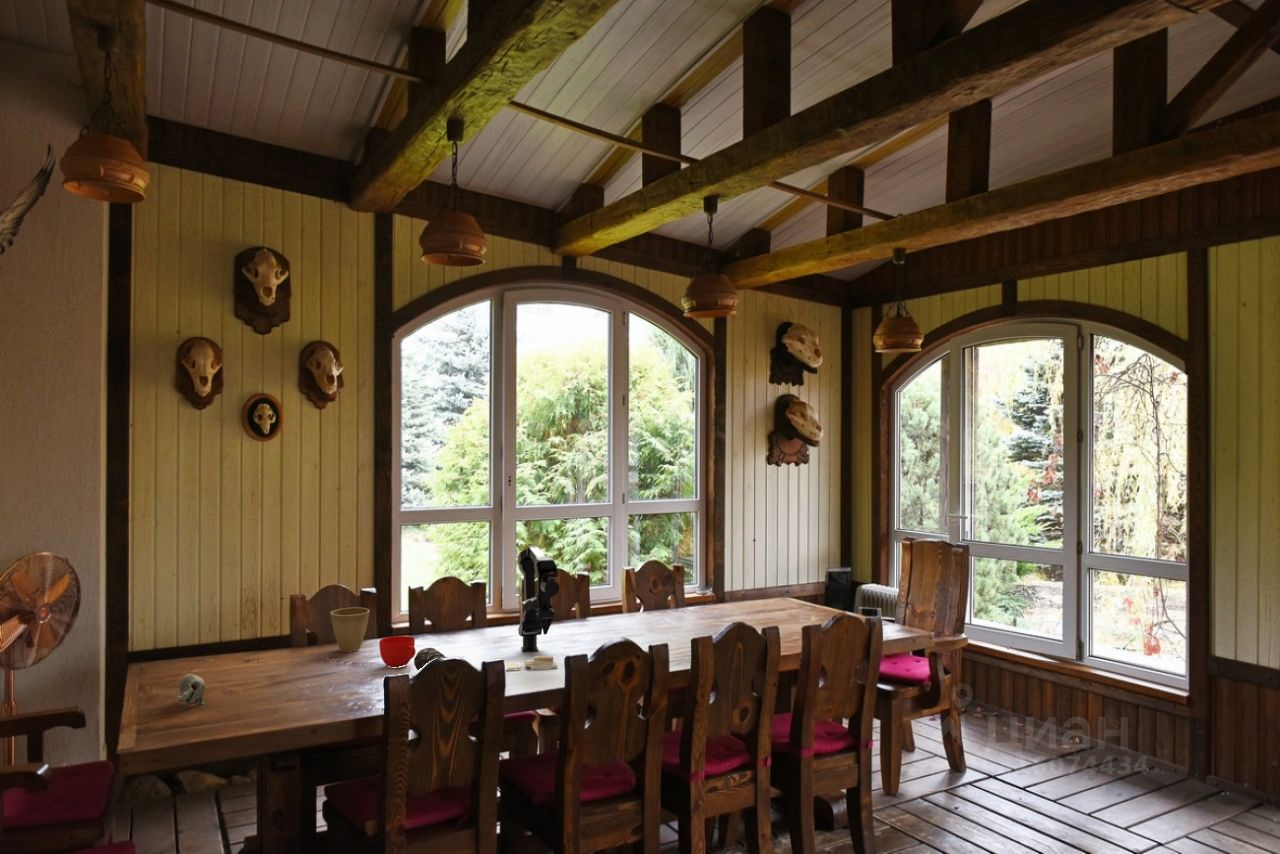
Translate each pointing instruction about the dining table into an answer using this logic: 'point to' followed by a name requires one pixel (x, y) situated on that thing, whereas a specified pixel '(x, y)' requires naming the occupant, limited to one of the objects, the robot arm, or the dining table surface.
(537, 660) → the beige flat block
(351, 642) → the plant pot
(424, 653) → the pine cone
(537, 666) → the rest
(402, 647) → the ceramic cup
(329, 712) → the dining table surface
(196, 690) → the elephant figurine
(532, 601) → the robot arm
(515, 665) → the tile
